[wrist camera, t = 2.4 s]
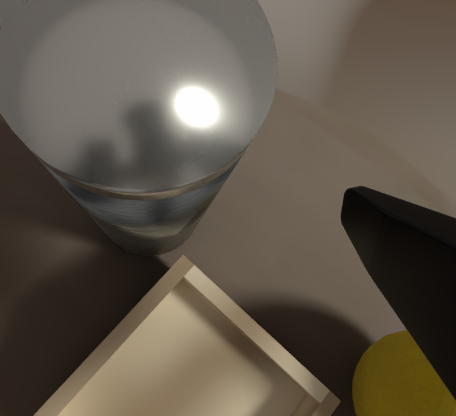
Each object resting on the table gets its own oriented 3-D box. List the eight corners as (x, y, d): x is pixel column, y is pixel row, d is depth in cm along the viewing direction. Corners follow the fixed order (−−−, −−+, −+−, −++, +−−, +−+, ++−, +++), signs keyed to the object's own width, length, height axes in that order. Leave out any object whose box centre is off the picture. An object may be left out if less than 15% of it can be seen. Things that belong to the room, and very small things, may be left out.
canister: (219, 204, 20) (329, 60, 7) (151, 277, 19) (142, 253, 6) (148, 139, 20) (137, -117, 7) (76, 207, 19) (-89, 39, 6)
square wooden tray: (307, 380, 19) (341, 401, 15) (193, 537, 17) (203, 599, 13) (178, 260, 19) (182, 254, 16) (47, 401, 17) (20, 429, 13)
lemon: (354, 301, 20) (478, 309, 12) (444, 358, 20) (620, 402, 13) (303, 405, 19) (407, 488, 11) (400, 465, 19) (569, 588, 11)
